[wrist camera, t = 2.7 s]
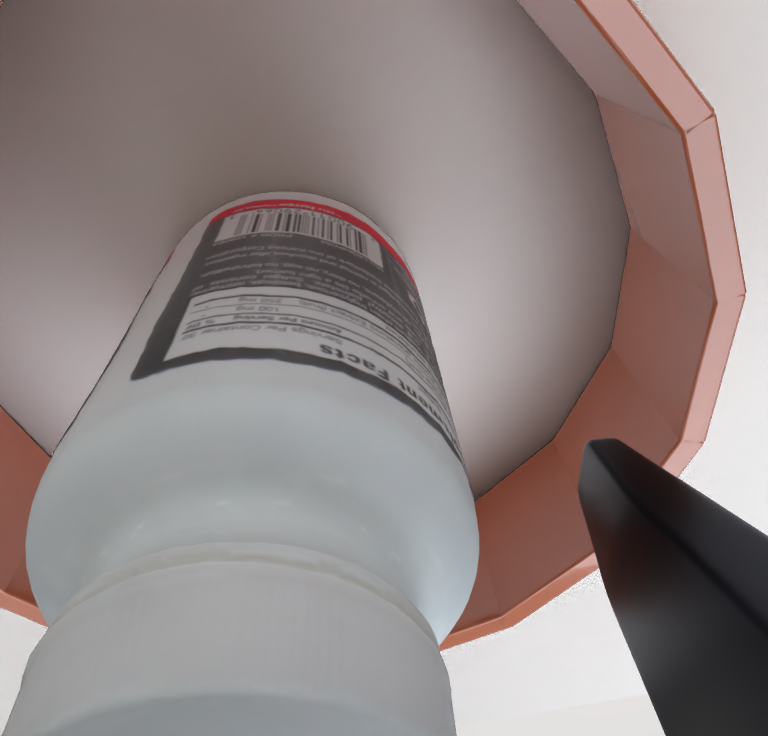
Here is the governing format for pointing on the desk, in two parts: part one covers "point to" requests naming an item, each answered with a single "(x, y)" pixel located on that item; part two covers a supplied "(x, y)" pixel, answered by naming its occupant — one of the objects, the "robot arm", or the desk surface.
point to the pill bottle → (256, 499)
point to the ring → (630, 337)
